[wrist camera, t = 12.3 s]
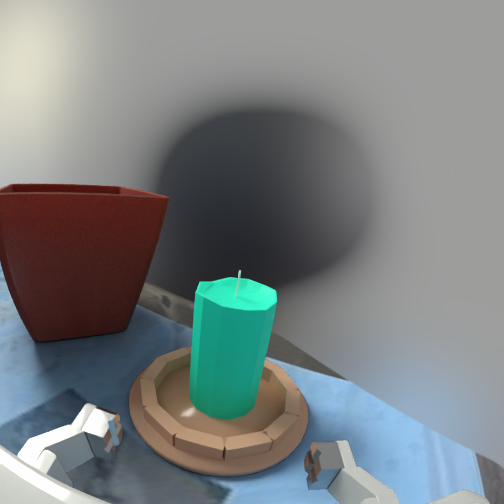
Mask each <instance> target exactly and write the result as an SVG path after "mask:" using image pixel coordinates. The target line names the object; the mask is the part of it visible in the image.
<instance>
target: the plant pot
mask: <svg viewBox="0 0 504 504" xmlns="http://www.w3.org/2000/svg"><path fill="white" fill-rule="evenodd" d="M168 202H169V197H167V196H163V195H158V194H155V193H150V192H146V191H142V190H137V189H131V188H126V187H118V186H98V185H75V184H10V185H7V186H5V187H3V188H1V189H0V262H1V266H2V270H3V273H4V277H5V280H6V283H7V286H8V289H9V292H10V294H11V297H12V299H13V302H14V304H15V306H16V309H17V311H18V313H19V315H20V317H21V319H22V321H23V323H24V325H25V327H26V329H27V330H28V332H29V334H30V336H31V337H32V339H33V340H35V341H50V340H60V339H69V338H77V337H85V336H92V335H100V334H107V333H114V332H120V331H124V330H125V329H127V326H128V324H129V322H130V320H131V317H132V315H133V312H134V310H135V307H136V304H137V302H138V299H139V297H140V294H141V291H142V288H143V286H144V283H145V280H146V277H147V274H148V271H149V268H150V265H151V262H152V259H153V256H154V253H155V249H156V246H157V243H158V240H159V236H160V233H161V229H162V226H163V222H164V218H165V214H166V211H167V206H168Z"/></svg>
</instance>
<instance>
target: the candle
mask: <svg viewBox="0 0 504 504" xmlns="http://www.w3.org/2000/svg"><path fill="white" fill-rule="evenodd" d="M240 275H241V271H239V275H238V278H231V277H229V278H225V279H221V280H217V281H213V282H200V283H199V285H198V288H197V290H196V294H195V306H194V318H193V332H192V346H191V363H190V383H189V398H190V400H191V402H192V403H193V405H194V407H195V409H197V410H199V411H200V412H202V413H204V414H205V415H207V416H209V417H212V418H218V419H225V420H231V419H235V418H239V417H242V416H246V415H247V414H248V413H249V412H250V410H251V409H252V408H253V407H254V406H255V402H256V398H257V394H258V389H259V385H260V380H261V376H262V371H263V367H264V362H265V358H266V353H267V348H268V344H269V339H270V334H271V329H272V324H273V319H274V314H275V309H276V304H277V296H276V290H273V289H271V288H269V287H267V286H265V285H263V284H260V283H257V282H254V281H252V280H249V279H241V278H240Z"/></svg>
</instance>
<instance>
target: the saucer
mask: <svg viewBox="0 0 504 504" xmlns="http://www.w3.org/2000/svg"><path fill="white" fill-rule="evenodd" d="M190 363H191V346H187V348H186V347H183V348H180V349H177V350H175V351H172V352H169V353H167V354H164V355H161V356H158V358H156V359H155V360H154V361H153V362H152V364H151V365H149V366H148V367H147V368H145V369H144V370H143V371H142V372H141V373H140V374H139V375H138V376H137V378H136V379H135V381H134V382H133V385H132V387H131V390H130V394H129V408H130V414H131V419H132V422H133V425H134V427H135V429H136V431H137V433H138V434H139V436H140V437H141V439H142V440H143V441H144V442H145V443H146V445H147V446H148V447H150V448H151V449H152V450H153V451H154V452H155V453H156V454H158V455H159V456H161V457H162V458H164V459H165V460H167V461H168V462H170V463H172V464H174V465H176V466H178V467H181V468H183V469H186V470H189V471H192V472H195V473H200V474H204V475H210V476H221V477H229V476H242V475H249V474H253V473H257V472H260V471H264V470H266V469H268V468H271V467H273V466H275V465H277V464H278V463H280V462H281V461H283V460H285V459H286V458H287V457H288V456H289V455H290V454H291V453H293V452H294V450H295V449H296V448H297V447H298V445H299V444H300V442H301V440H302V438H303V436H304V434H305V432H306V428H307V425H308V417H309V414H308V407H307V404H306V401H305V399H304V397H303V395H302V393H301V392H300V390H299V388H298V387H297V386H296V384H295V383H294V382H293V381H292V379H291V378H290V377H289V376H288V374H287V373H286V372H285V371H284V369H283V368H281V367H280V366H278V365H276V364H274V363H272V362H270V361H269V360H267V359H265V362H264V367H263V371H262V376H261V380H260V385H259V389H258V394H257V398H256V402H255V406H254V407H253V408H252V409H251V410H250V412H249V413H248V414H247V415H246V416H242V417H239V418H235V419H231V420H225V419H218V418H212V417H209V416H207V415H205V414H204V413H202V412H200V411H199V410H197V409H195V407H194V405H193V403H192V402H191V400H190V398H189V383H190Z"/></svg>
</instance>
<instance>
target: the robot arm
mask: <svg viewBox="0 0 504 504" xmlns="http://www.w3.org/2000/svg"><path fill="white" fill-rule="evenodd" d="M119 421H120V415H119V414H117V413H114V412H111V411H108V410H106V409H103V408H100V407H98V406H95V405H92V404H90V403H87V404H85V405H84V407H83V408H82V410H81V411H80V413H79V414H78V416H77V417H76V419H75V420H74V422H73V423H72V425H66V426H63V427H60V428H58V429H55V430H53V431H50V432H47V433H44V434H42V435H39V436H36V437H33V438H30V439H29V440H28V441H27V442H26V444H25V445H24V447H23V448H22V449H21V451H20V452H19V453H18V455H17V456H16V455H14V454H13V453H11V452H10V451H8V450H7V449H5V448H4V447H3V446H1V445H0V504H111V503H108V502H105V501H103V500H100V499H98V498H95V497H93V496H90V495H88V494H86V493H83V492H81V491H79V490H77V489H75V488H72V487H71V486H72V481H71V480H70V478H69V477H68V475H67V474H66V473H67V472H69V471H71V470H72V469H74V468H76V467H77V466H79V465H81V464H83V463H84V462H86V461H88V460H89V459H91V458H92V457H94V456H97V457H100V458H102V459H105V460H108V461H112V459H113V457H114V455H115V453H116V449H115V446H117V445H119V444H120V442H121V439H122V435H123V428H122V425H121V424H120V423H119ZM310 449H311V450H310V451H309V452H307V454H306V456H305V461H304V467H305V471H306V472H307V473H308V474H309V475H308V477H307V478H306V480H307V485H308V490H320V489H327V491H328V492H329V493H330V494H331V495H332V496H333V497H334V498H335V499H336V500H337V501H338V502H339V503H340V504H399V502H398V499H397V496H396V494H395V492H394V491H393V490H391V489H390V488H388V487H387V486H385V485H384V484H383V483H381V482H380V481H378V480H377V479H376V478H374V477H373V476H372V475H370V474H369V473H367V472H366V471H365V470H363V469H362V468H361V467H357V466H356V463H355V460H354V457H353V455H352V452H351V449H350V446H349V443H348V441H347V440H344V441H320V442H313V443H312V444H311V446H310ZM428 504H490V503H489V501H488V500H487V499H486V498H485V497H483V496H481V495H479V494H477V493H474V492H472V491H470V490H467V489H463V490H460V491H457V492H455V493H453V494H450V495H448V496H446V497H443V498H441V499H438V500H436V501H433V502H431V503H428Z"/></svg>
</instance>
